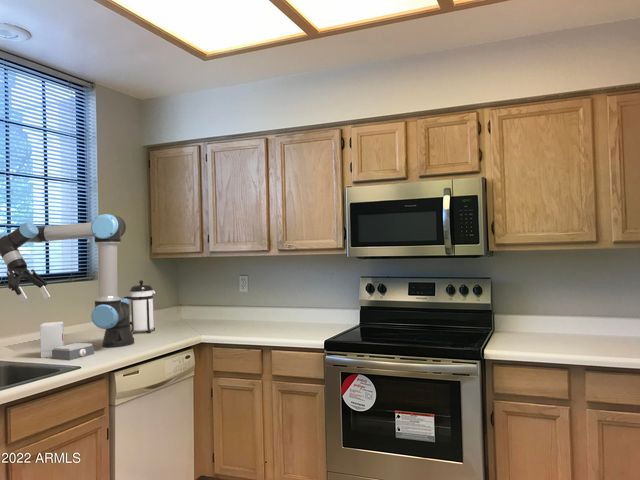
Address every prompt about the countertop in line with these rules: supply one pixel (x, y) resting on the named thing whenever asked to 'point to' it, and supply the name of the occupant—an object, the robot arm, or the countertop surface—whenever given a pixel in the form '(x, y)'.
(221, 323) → the countertop surface
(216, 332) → the countertop surface
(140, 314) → the coffee press
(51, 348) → the supplement box
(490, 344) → the countertop surface
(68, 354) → the kitchen scale
